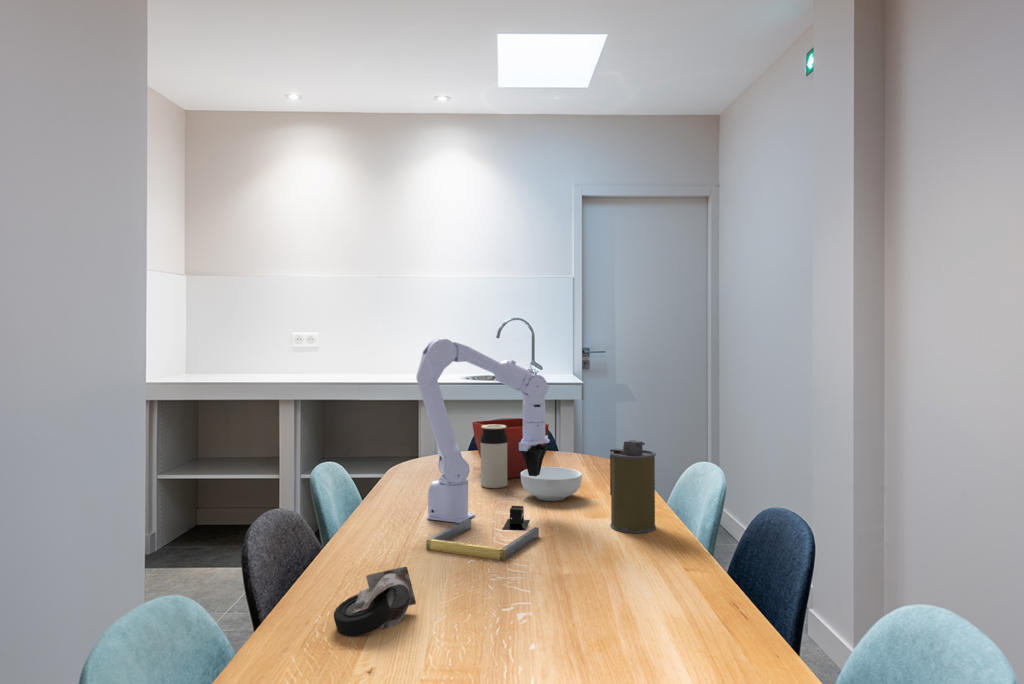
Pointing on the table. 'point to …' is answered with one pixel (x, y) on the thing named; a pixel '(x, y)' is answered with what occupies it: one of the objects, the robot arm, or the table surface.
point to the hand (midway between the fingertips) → (534, 475)
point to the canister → (632, 488)
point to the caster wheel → (376, 604)
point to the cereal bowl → (552, 483)
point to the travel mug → (493, 456)
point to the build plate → (516, 519)
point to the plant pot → (508, 443)
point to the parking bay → (442, 544)
